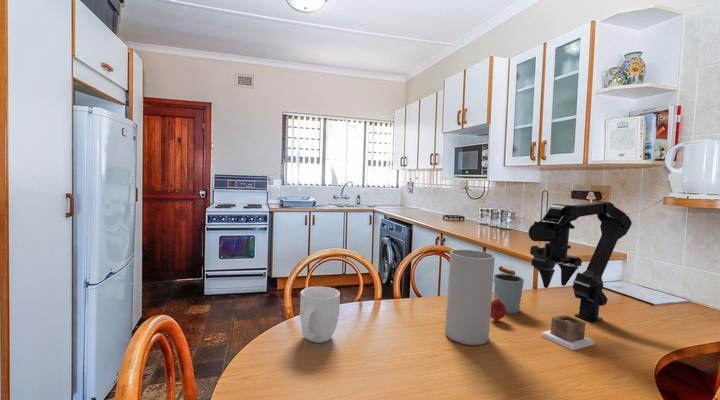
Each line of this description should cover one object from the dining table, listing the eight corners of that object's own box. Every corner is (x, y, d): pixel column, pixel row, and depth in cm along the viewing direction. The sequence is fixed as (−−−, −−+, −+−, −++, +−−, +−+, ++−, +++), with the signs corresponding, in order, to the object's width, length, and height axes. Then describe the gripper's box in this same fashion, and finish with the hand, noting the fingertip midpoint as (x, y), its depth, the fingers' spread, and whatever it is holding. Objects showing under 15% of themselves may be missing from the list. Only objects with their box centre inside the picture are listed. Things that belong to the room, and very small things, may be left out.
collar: (563, 330, 115) (565, 314, 114) (584, 338, 109) (585, 322, 109) (550, 333, 112) (551, 317, 112) (570, 342, 106) (572, 325, 106)
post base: (561, 331, 117) (563, 313, 117) (593, 344, 108) (595, 325, 108) (541, 335, 113) (542, 317, 112) (572, 350, 104) (574, 330, 103)
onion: (506, 325, 120) (508, 301, 119) (488, 322, 121) (490, 299, 120) (503, 318, 125) (505, 295, 125) (485, 316, 127) (487, 293, 126)
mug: (323, 356, 93) (325, 305, 92) (284, 348, 96) (286, 299, 95) (343, 333, 107) (345, 289, 106) (309, 327, 110) (311, 284, 109)
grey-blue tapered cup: (523, 308, 137) (525, 277, 136) (518, 316, 128) (521, 282, 128) (495, 302, 142) (497, 272, 142) (488, 309, 134) (491, 277, 133)
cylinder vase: (458, 324, 118) (463, 248, 116) (495, 338, 109) (502, 255, 108) (436, 335, 109) (442, 252, 108) (475, 350, 100) (481, 260, 99)
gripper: (554, 236, 135) (550, 278, 136) (519, 238, 127) (516, 282, 128) (584, 242, 126) (580, 286, 127) (549, 244, 117) (544, 292, 118)
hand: (554, 286), depth 125 cm, fingers open, 9 cm apart
